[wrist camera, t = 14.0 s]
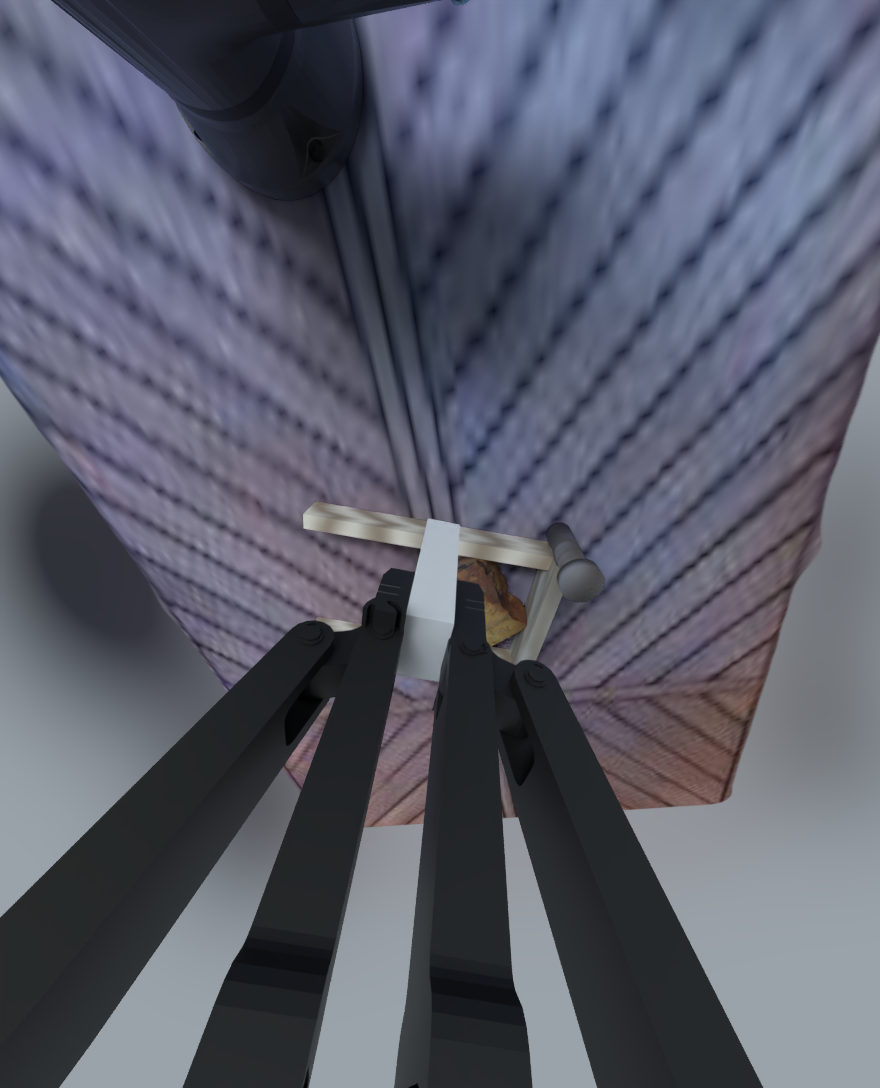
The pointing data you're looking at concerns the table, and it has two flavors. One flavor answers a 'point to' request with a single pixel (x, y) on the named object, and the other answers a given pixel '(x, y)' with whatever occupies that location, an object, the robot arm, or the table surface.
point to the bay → (554, 560)
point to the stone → (494, 598)
